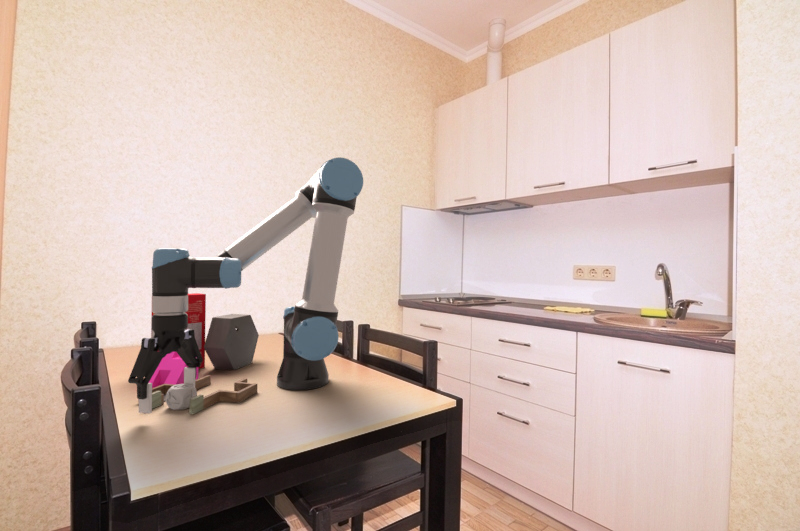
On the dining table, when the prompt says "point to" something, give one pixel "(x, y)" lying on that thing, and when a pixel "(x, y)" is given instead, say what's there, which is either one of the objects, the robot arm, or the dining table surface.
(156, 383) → the bracket
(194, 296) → the food packaging
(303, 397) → the dining table surface
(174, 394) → the die
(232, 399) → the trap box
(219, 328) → the planter
